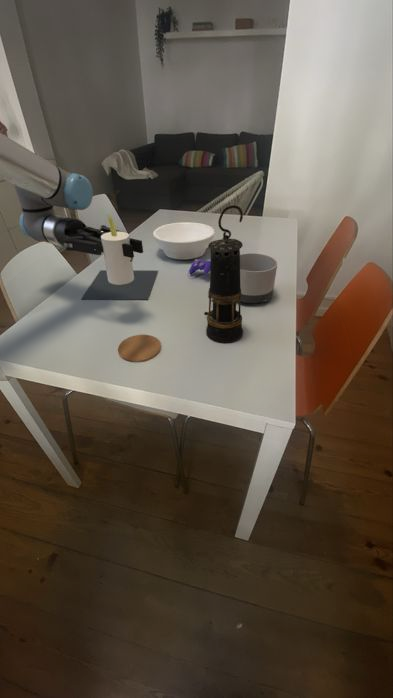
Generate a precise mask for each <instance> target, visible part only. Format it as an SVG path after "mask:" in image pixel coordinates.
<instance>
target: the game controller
mask: <svg viewBox="0 0 393 698" xmlns="http://www.w3.org/2000/svg"><path fill="white" fill-rule="evenodd" d="M210 265H211V258H207V259H206V258H205V259H198V258H195V259H194V261H193V262H192V264H191V265H190V267H189V270H188V271H187V274H189V275H194V274H195V273H196V272H197V271H199V270H200V271H203V273H201V274H200V275H198V276H196V277H193V278H192V280H194V279H196V278H199V277H200V276H202V275H208V274H210ZM187 277H188V279H190V277H189V276H187Z"/></svg>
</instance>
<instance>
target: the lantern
mask: <svg viewBox="0 0 393 698" xmlns="http://www.w3.org/2000/svg"><path fill="white" fill-rule="evenodd" d="M231 209H236V210H238V212H239V214H240V216H239V223H242V221H243V219H244V218H243V217H244V214H243V210H242V209H241V207H240V206H238V205H233V204H232V205H229V206H226V207H225V208H224V209H223V210H222V211H221V213H220V215H219V218H218V228H219V229H220V230H221V231H222V232H223V233H222V238H221V239H215V240H212V242H211V243H210V244H209V245H208V247H207V248H208V249H209V250H210V259H211V265H210V272H209V288H208V291H207V298H208V311H205V312H204V313H203V315H204V316H206V321H207V327H206V330H205V334H206V336H207V338H208V339H209V340H210V341H212V342H214V343H218V344H233V343H236V342H238V341H239V340H241V339H242V338H243V335H244V329H243V327H242V326H243V325H242V323H243V316H242V314H241V301H240V299H241V288H240V254H241V251H240V250H241V249H242V248H243V242H242V240H239V239H236V238H231V237H232V232H231V230H229V229H227V228H223V226H222V219H223V217H224V214H225V213H226V212H227V211H228V210H231ZM237 302H238V310H237ZM211 307H212V309H211Z"/></svg>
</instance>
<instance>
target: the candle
mask: <svg viewBox="0 0 393 698" xmlns="http://www.w3.org/2000/svg"><path fill="white" fill-rule="evenodd" d="M107 220H108V225H109V228H110V231H111V232H108V233H105V234H103V235H101V241H102V246H103V251H104V252H102V254H103V258H104V264H105V270H106V271H107V277H108V281H109V283H111V284H116V285H123V284H128V283H130V282H132V281H133V280H134V273H133V270H134V265H133V261H134V257H133V258H130V257H126V256H123V249H122V244H124V243H126V244H130V238H131V237H130V234H129V233H128V232H126V231H122V232H116V230H117V227H116V223H115V221H114V219H113V218H112V216H111V215H110V214H108V215H107ZM125 232H126V233H125Z"/></svg>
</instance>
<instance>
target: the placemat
mask: <svg viewBox="0 0 393 698" xmlns="http://www.w3.org/2000/svg"><path fill="white" fill-rule="evenodd" d="M158 272H159V270H150V269H149V270H144V269H143V270H141V269H139V270H136V269H135V270H134V269H133V273H134V280H133V281H132V282H130V283H128V284H123V285H116V284H111V283H109V281H108V277H107V271H106V269H105V270H104V269H102V270H100V271H98V273H97V275H96V276H95V277H94V279H93V280H92V282H91V283H90V285H89V286H88V288H87V289H86V291H85V292H84V294H83V295H82V296H81V298H80V300H82V301H86V300H88V301H90V300H91V301H94V300H95V301H149V299H150V295H151V293H152V290H153V287H154V284H155V281H156V279H157V275H158Z"/></svg>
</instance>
